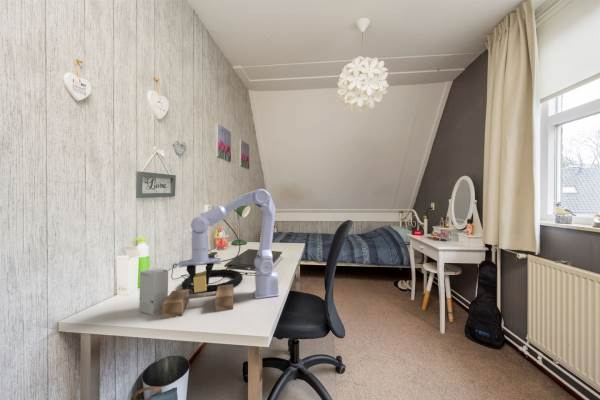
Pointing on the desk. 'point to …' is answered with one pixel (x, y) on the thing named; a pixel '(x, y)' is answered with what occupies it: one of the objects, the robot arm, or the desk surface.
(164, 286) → the skincare box
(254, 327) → the desk surface
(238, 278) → the cable lock
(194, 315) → the desk surface
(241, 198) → the robot arm
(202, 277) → the yellow block
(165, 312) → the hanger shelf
